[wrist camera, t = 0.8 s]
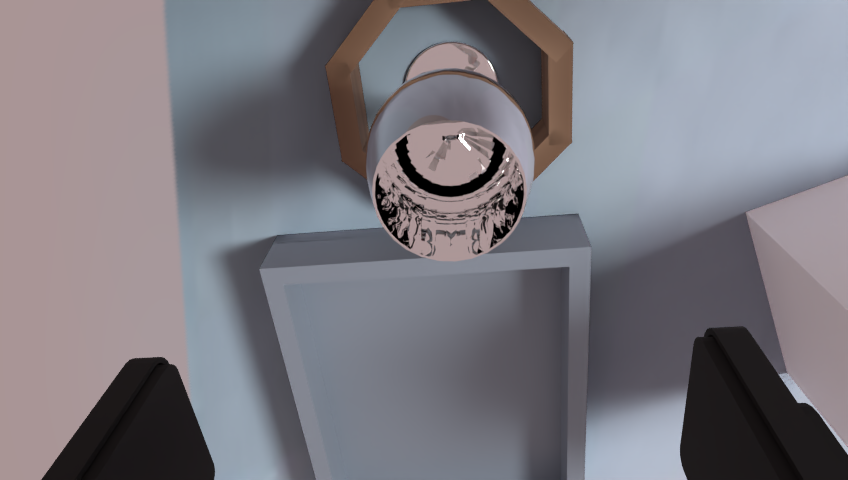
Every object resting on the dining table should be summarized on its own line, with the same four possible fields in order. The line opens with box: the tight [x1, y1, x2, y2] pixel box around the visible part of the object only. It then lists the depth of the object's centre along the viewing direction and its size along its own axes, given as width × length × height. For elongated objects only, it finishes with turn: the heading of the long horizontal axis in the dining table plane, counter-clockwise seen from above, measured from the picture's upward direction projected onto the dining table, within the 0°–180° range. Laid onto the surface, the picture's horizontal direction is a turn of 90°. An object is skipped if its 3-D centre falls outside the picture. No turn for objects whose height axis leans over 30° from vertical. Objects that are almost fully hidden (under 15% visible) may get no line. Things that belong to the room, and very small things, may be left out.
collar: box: [325, 0, 574, 181], centre depth 28 cm, size 10×10×2 cm
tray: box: [259, 214, 591, 480], centre depth 35 cm, size 16×20×4 cm
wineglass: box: [366, 42, 535, 261], centre depth 24 cm, size 6×6×12 cm
